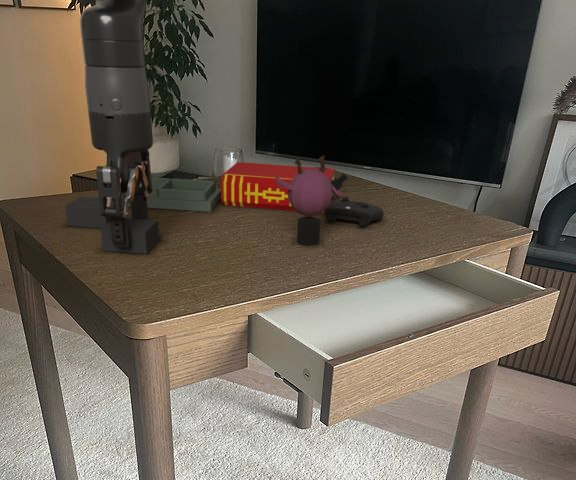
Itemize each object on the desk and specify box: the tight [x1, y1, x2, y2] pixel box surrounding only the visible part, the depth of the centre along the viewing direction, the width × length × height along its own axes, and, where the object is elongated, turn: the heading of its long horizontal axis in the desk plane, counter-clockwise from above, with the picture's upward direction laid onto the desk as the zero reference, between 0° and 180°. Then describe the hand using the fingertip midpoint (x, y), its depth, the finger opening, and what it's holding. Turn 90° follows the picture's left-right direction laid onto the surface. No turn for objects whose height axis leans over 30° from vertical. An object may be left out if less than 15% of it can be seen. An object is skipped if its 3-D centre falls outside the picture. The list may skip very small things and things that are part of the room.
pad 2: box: [100, 217, 160, 255], centre depth 82 cm, size 6×6×3 cm
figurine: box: [275, 155, 349, 246], centre depth 84 cm, size 8×8×12 cm
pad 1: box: [64, 196, 115, 229], centre depth 91 cm, size 6×6×3 cm
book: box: [220, 161, 336, 214], centre depth 106 cm, size 18×13×5 cm
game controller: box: [325, 196, 385, 228], centre depth 98 cm, size 10×5×6 cm
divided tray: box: [129, 176, 221, 213], centre depth 104 cm, size 18×10×3 cm, turn 85°
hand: (131, 236), depth 82 cm, fingers open, 8 cm apart
